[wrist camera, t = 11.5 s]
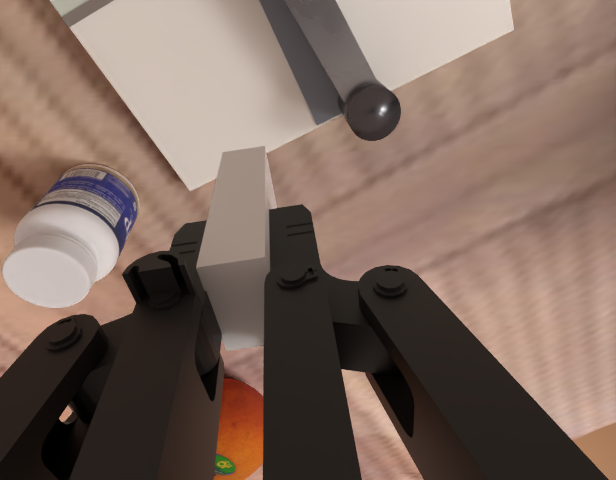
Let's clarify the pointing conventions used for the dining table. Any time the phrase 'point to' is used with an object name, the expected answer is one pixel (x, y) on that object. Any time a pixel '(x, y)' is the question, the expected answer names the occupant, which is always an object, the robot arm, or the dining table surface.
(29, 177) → the dining table surface
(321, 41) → the swing bar
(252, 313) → the robot arm
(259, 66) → the door board
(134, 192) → the pill bottle
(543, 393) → the dining table surface
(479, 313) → the dining table surface
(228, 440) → the fruit
